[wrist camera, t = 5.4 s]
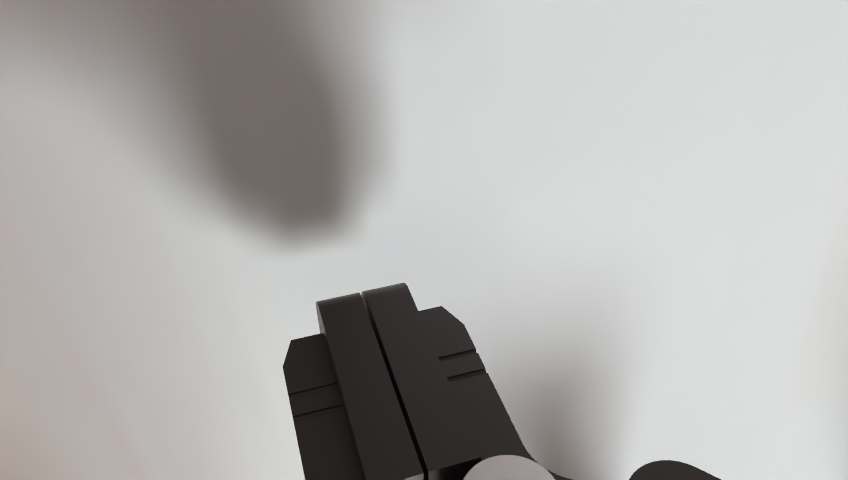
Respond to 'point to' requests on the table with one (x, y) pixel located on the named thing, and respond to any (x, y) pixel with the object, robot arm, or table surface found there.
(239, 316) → the table surface
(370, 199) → the table surface
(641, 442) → the table surface
